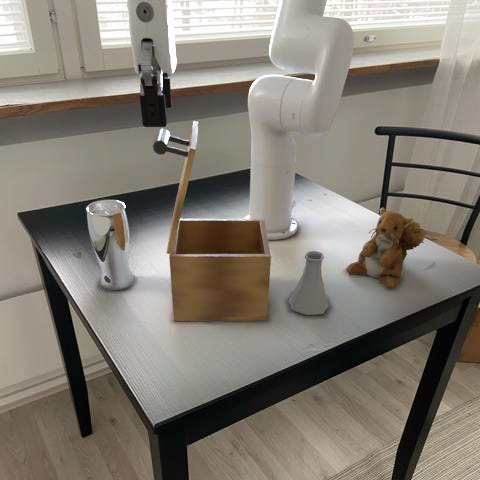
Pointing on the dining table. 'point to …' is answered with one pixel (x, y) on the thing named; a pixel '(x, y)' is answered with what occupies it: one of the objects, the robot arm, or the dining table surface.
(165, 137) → the lid
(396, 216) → the stuffed squirrel
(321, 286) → the flask
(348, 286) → the dining table surface
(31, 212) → the dining table surface
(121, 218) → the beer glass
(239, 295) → the chest
